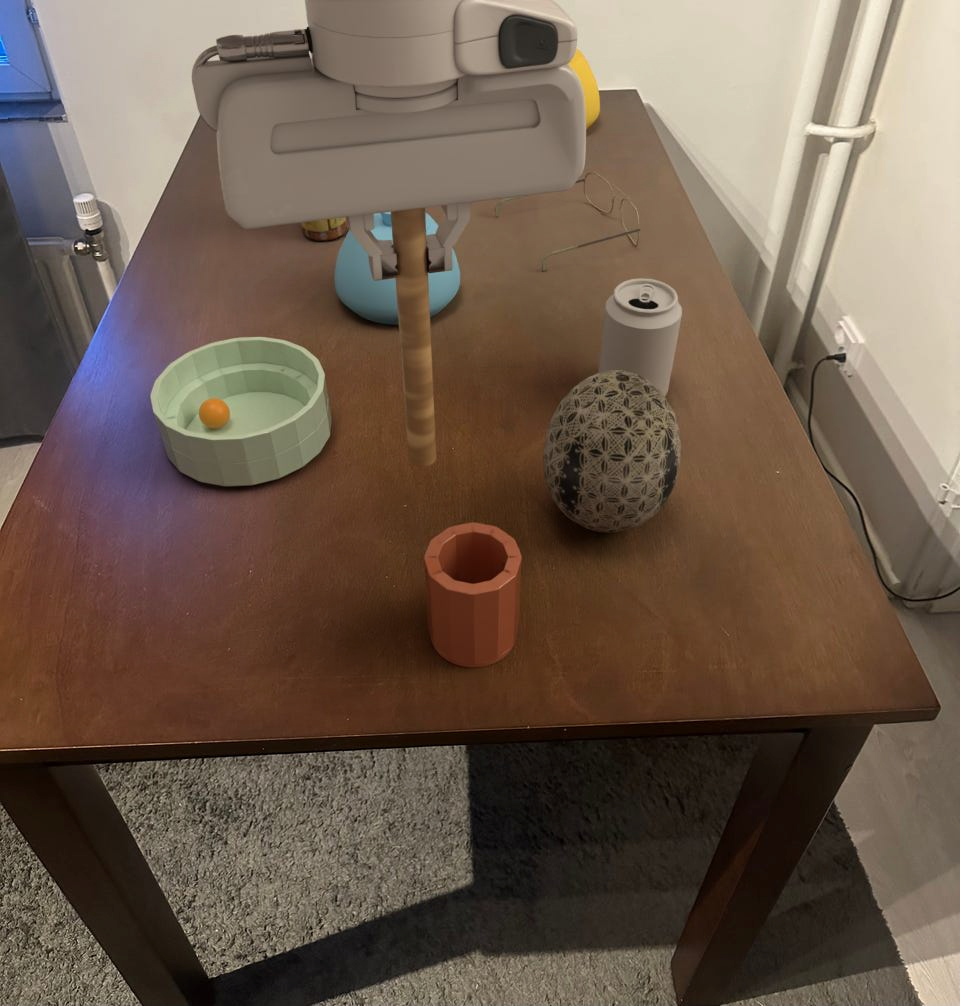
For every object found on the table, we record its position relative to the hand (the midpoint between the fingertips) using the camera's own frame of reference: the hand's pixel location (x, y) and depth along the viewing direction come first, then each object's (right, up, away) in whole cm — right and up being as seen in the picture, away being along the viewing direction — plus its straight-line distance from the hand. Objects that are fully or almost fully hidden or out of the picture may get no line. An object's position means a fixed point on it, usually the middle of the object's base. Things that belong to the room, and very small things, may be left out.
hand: (411, 271), depth 54 cm
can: (+20, -2, +41) cm, 46 cm away
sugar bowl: (-6, +11, +54) cm, 56 cm away
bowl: (-19, -7, +35) cm, 41 cm away
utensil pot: (+4, -24, +18) cm, 30 cm away
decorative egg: (+15, -15, +28) cm, 35 cm away
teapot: (+14, +50, +94) cm, 108 cm away
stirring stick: (0, -11, +10) cm, 15 cm away
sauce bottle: (-17, +22, +66) cm, 72 cm away
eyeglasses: (+16, +22, +66) cm, 71 cm away
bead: (-22, -5, +34) cm, 41 cm away
